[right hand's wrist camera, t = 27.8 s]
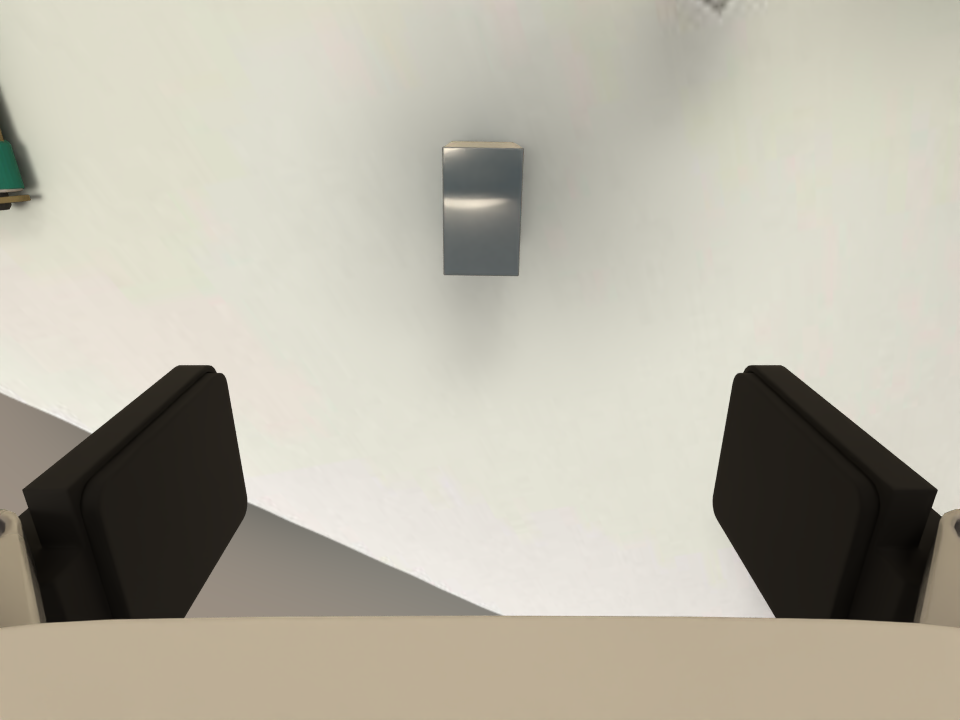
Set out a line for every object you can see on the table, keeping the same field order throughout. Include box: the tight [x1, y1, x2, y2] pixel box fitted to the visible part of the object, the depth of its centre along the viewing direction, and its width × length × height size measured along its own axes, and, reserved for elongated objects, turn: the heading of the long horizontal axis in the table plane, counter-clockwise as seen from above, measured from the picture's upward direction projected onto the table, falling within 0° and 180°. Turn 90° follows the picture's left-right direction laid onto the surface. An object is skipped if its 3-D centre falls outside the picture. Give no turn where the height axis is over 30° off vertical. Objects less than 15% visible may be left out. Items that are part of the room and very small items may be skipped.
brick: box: [442, 141, 524, 276], centre depth 41 cm, size 5×8×11 cm, turn 179°
